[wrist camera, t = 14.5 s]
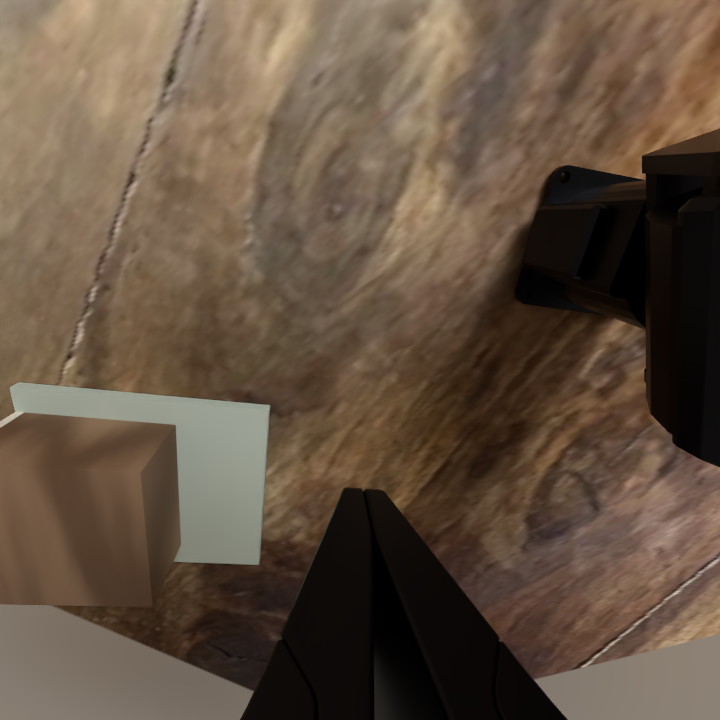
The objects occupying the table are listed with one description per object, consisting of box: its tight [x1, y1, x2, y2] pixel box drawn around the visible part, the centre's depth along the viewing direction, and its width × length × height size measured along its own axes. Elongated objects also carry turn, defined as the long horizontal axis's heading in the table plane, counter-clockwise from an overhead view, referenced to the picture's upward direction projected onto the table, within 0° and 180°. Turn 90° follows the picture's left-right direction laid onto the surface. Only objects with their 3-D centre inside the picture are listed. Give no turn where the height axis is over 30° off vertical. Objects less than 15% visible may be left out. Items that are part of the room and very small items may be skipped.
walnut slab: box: [0, 412, 181, 607], centre depth 19 cm, size 4×9×8 cm
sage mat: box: [10, 382, 270, 565], centre depth 22 cm, size 13×12×1 cm
